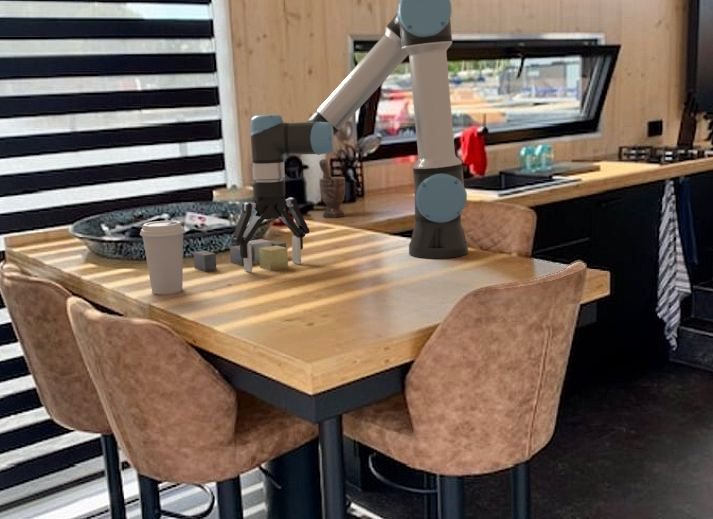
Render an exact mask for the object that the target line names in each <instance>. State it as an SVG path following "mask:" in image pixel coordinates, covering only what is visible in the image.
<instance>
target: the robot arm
mask: <svg viewBox="0 0 713 519" xmlns="http://www.w3.org/2000/svg"><path fill="white" fill-rule="evenodd" d="M397 4H398V5H397V12H396V14H395V15H394V16H393V18H392V20H390V22H388V24H387V25H386V26H385V34H383V36H382V37H381V38H380V39H379V40H378V41H377V42H376V43H375V44H374V45H373V47H372V48H371V49H369V51H368V52H367V54H366V55H364V57H363V58H362V59H361V60H360V61H359V62H358V64H357V65H356V66H355V67H354V68H353V69H352V70H351V71H350V73H348V74H347V76H346V77H345V78H344V79H343V80H342V82H341V83H340V84H339V85H338V86H337V87H336V88H335V89H334V90H333V92H332V93H331V94H330V95H329V96H328V97H327V98H326V100H324V101H323V103H322V104H321V105H320V106H319V107H318V108H317V109H316V111H315V112H314V113H313V114H312V115H311V116H310V117H309V118H308V119H307V120H306V122H284V120H283V117H282V115H280V114H259V115H257V114H256V115H253V116H252V117H251V119H250V134H249V135H250V141H251V142H250V143H251V144H250V146H251V159H252V160H251V162H252V179H253V180H254V181H253V184H252V185H253V197H254V201H253V203H252V202H251V203H250V202H246V201H244V202H243V203H242V208H241V210H242V212H241V214H240V217H239V218H238V221H237V224H236V227H235V229H234V233H233V235H232V237H231V242H233V243H236V244H239V245H240V256H241V258H244V265H243V270H244V271H245V272H248V273H252V272H253V264H252V254H251V245H250V244H248V242H249V241H251V239H252V238H253V237H254V235H255V233H256V232H257V230H258V228H259V227H260V226H261V224H262V223H264V221H265V220H267V221H268V220H272V219H274V220H275V219H276V220H277V219H280V220H281V221H282V222H283V223H284V224H285V226H286V228H288V229H289V231H290V232H291V233H292V234H293V235H294V236H291V248H292V250H291V252H292V263H294V264H297V265H301V264H302V254H301V251H302V250H303V249H304V239H303V238H305V237H306V235H308V234H309V233H310V229H309V226H308V225H307V222H306V220H305V218H304V216H303V214H302V212H301V211H300V209H299V207H298V200H297V198H295V197H291V196H289V197H288V198H287V199H286V198H285V197H286V182H285V180H284V179H285V178H286V176H285V160H284V159H285V158H284V157H285V156H286V155H287V156H290V155H318V156H321V155H325V154H326V155H329V154H332V153H333V152H334V145H335V141H334V139H335V136H336V134H338V132H340V130H341V129H342V128H343V127H344V126H345V124H346V123H347V122H348V121H349V120H350V119H351V118H352V117H353V116H354V115H355V113H356V112H358V110H359V109H360V108H361V107H362V106H363V105H364V104H365V103H366V101H368V100H369V98H370V97H371V96H372V95H373V94H374V93H375V92H376V91H377V90H378V88H379V87H380V86H381V85H382V84H383V83H384V82H385V81H386V80H387V79H388V77H390V75H391V74H392V73H393V72H394V71H395V70H396V69H397V67H399V66H400V65H401V64H402V63H403V61H404V60H405V59H406V58H407V57H408V59H409V60H408V62H409V69H410V71H409V72H410V80H411V90H412V100H413V101H412V102H413V104H412V105H413V113H414V114H413V115H414V123H415V136H416V145H417V157H418V159H417V161H416V162H415V163H414V165H413V166H412V170H413V184H414V186H413V187H414V222H415V223H414V226H413V230H412V234H411V239H410V242H409V243H408V254H409V255H410V256H412V257H417V258H421V259H422V258H424V259H448V258H450V259H451V258H457V257H463V256H465V255H467V254H469V244H468V241H467V239H466V238H467V237H466V235H465V232H464V228H463V226H462V219H461V215H462V213H463V211H464V209H465V207H466V204H467V199H468V196H467V195H468V194H467V190H466V187H465V183H464V182H465V180H464V170H463V168H464V167H463V161H462V160H461V159H459V157H458V156H456V152H455V140H454V139H455V138H454V131H453V130H454V127H453V115H452V103H451V94H450V93H451V92H450V82H449V80H450V79H449V67H448V57H447V51H448V49H449V48H450V47H451V45H452V44H453V38H452V36H453V35H452V23H451V22H452V21H451V17H452V4H451V0H399V2H398V3H397ZM286 206H287V208H288V209H289V212H290V214H291V216H292V217H293V219H294V221H293V219H292V218H291V217H290V216H289V215H290V214H288V213H287V212H286V210H285V209H286ZM254 210H255V212H254ZM252 212H254V214H253V217H252V219H251V216H252ZM250 219H251V221H250Z"/></svg>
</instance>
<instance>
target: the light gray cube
mask: <svg viewBox="0 0 713 519" xmlns="http://www.w3.org/2000/svg"><path fill="white" fill-rule="evenodd" d="M271 241H272V240H266V239H263V238H259V239H254V240H250V241H249V242H248V244H250V245H251V248H252V261H253V263H254V264H258V263H259V264H260V257H259V248H263V247H269V246H272V245H271Z"/></svg>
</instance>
